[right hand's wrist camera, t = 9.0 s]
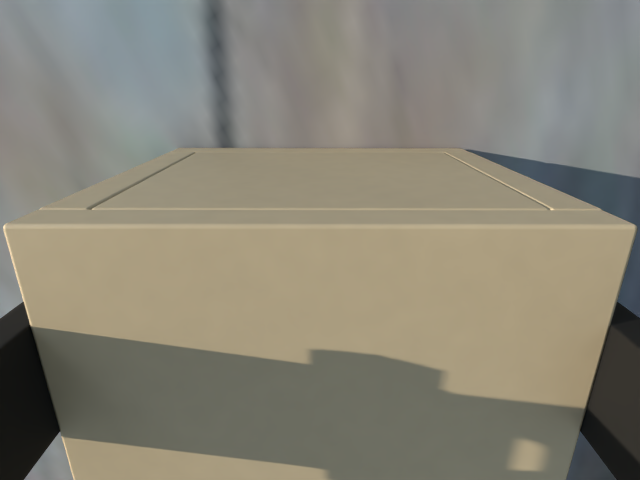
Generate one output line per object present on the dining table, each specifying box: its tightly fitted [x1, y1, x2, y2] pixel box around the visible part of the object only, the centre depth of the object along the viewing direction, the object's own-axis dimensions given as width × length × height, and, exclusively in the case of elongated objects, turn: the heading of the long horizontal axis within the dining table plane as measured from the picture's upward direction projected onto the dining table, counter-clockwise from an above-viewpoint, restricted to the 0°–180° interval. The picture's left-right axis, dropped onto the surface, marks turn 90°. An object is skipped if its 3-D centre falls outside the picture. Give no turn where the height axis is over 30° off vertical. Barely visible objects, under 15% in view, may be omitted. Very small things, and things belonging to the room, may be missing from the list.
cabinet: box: [3, 148, 637, 480], centre depth 16 cm, size 20×12×10 cm, turn 0°
